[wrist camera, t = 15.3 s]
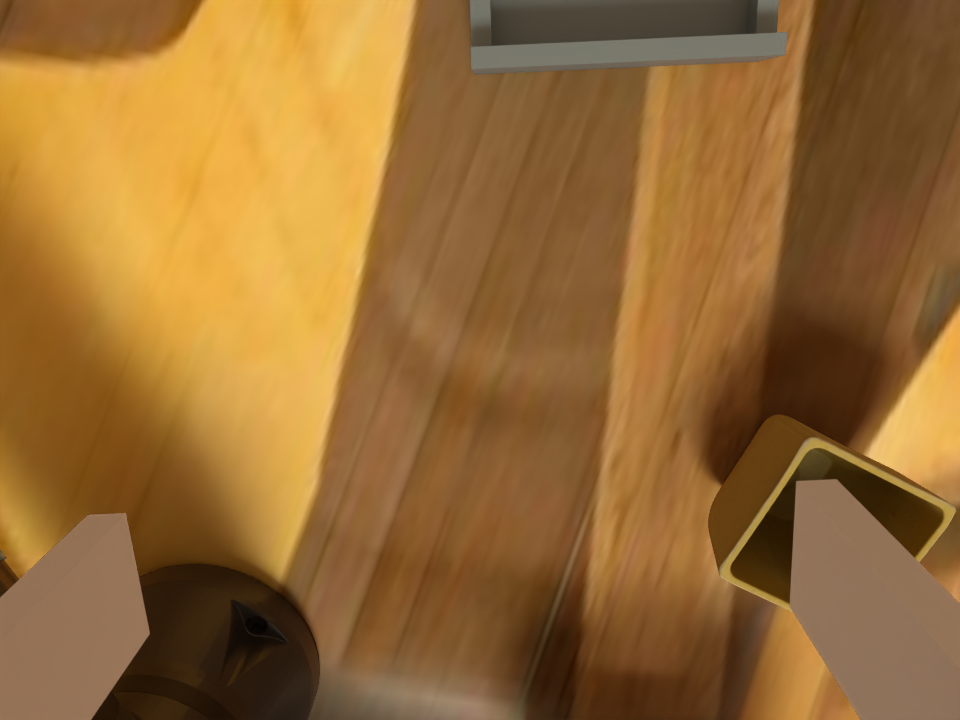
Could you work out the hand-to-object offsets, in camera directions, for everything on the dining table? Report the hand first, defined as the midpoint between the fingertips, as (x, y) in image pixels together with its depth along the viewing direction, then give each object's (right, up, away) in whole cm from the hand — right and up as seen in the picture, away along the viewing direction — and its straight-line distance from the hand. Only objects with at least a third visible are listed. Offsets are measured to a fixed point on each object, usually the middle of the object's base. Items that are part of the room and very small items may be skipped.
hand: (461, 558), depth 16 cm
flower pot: (+19, -3, +33) cm, 38 cm away
